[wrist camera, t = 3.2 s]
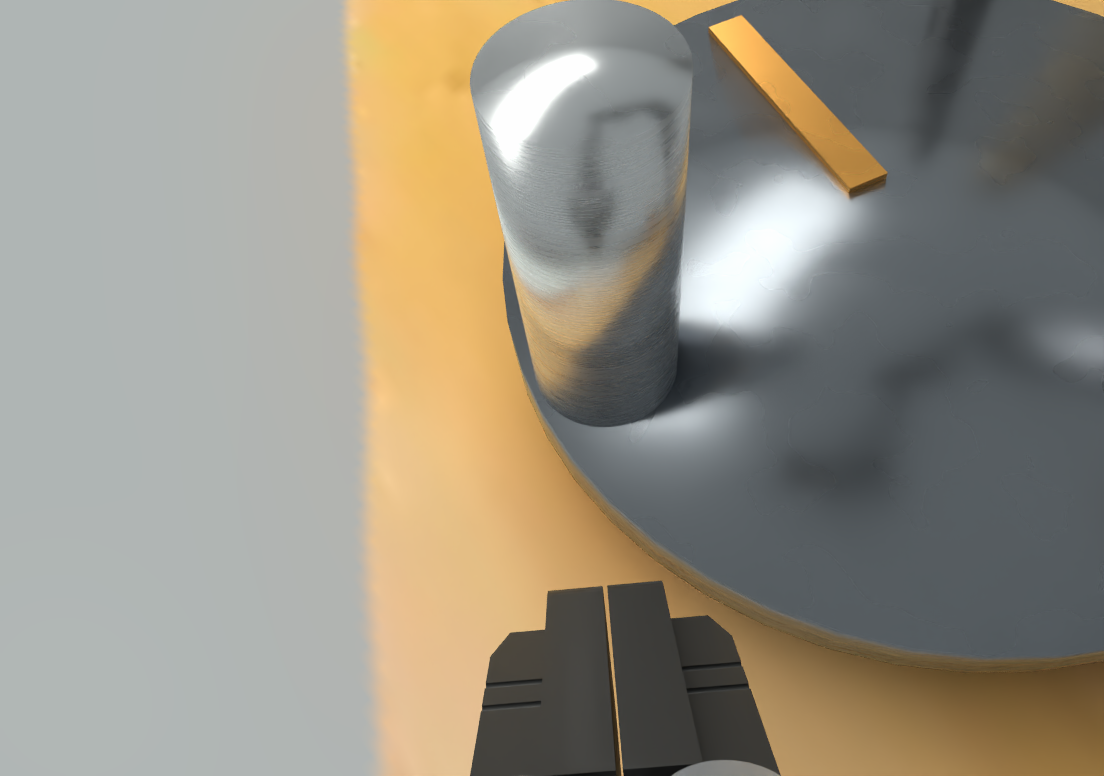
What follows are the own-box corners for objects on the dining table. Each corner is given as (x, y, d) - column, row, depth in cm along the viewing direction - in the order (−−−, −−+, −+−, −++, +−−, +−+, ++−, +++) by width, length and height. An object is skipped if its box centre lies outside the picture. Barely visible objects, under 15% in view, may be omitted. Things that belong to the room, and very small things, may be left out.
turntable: (1137, -18, 29) (1360, -430, 20) (1578, 628, 17) (2572, 355, 8) (500, 61, 30) (436, -293, 21) (526, 712, 19) (411, 552, 10)
